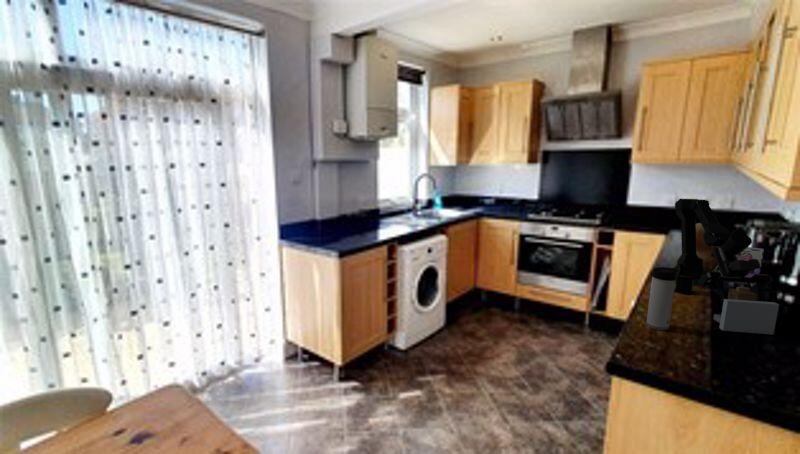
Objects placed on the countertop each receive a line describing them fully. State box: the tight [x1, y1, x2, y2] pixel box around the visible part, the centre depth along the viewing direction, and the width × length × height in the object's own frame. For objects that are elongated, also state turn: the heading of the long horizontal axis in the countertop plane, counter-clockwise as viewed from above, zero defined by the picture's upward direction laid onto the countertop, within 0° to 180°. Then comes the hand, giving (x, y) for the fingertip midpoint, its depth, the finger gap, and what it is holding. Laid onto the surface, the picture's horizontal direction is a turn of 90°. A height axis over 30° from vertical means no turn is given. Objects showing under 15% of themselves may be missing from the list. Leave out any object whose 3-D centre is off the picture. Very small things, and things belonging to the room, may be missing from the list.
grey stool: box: [713, 299, 780, 336], centre depth 127 cm, size 10×14×10 cm
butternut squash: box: [696, 222, 718, 274], centre depth 188 cm, size 14×13×25 cm
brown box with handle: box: [727, 286, 757, 301], centre depth 127 cm, size 5×5×13 cm
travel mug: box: [646, 266, 678, 331], centre depth 125 cm, size 6×7×20 cm
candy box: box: [718, 246, 765, 285], centre depth 174 cm, size 14×6×16 cm, turn 47°
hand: (743, 303), depth 126 cm, fingers open, 9 cm apart
